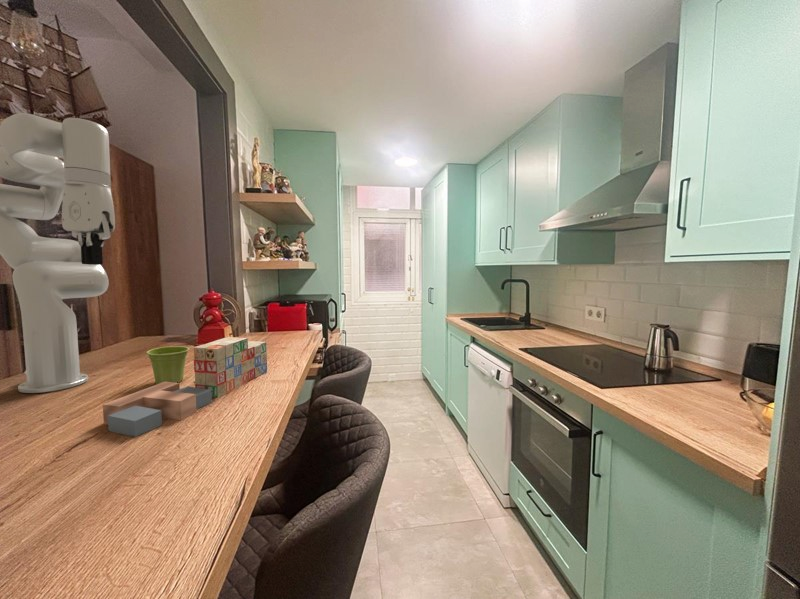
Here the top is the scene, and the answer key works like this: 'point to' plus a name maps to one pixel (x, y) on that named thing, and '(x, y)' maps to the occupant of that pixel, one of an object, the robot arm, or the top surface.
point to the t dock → (149, 414)
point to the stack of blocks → (228, 364)
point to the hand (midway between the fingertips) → (92, 264)
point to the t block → (156, 401)
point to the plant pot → (168, 363)
